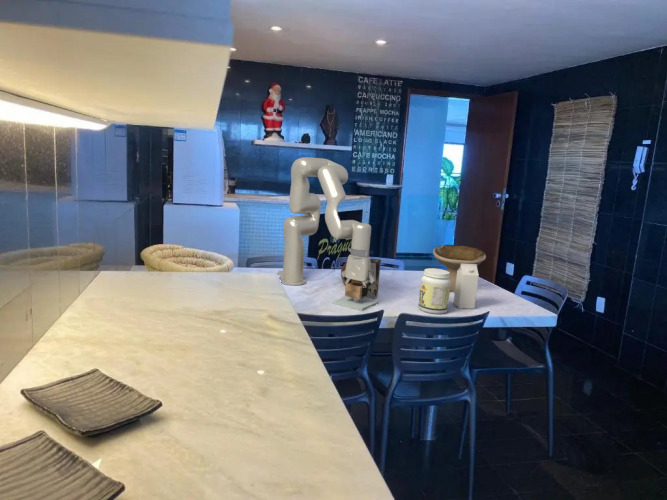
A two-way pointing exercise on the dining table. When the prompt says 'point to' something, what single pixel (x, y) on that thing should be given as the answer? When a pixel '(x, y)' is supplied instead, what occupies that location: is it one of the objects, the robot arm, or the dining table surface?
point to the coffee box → (375, 273)
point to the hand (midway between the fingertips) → (356, 294)
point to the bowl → (457, 259)
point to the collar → (354, 290)
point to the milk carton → (466, 286)
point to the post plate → (355, 303)
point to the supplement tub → (434, 291)
